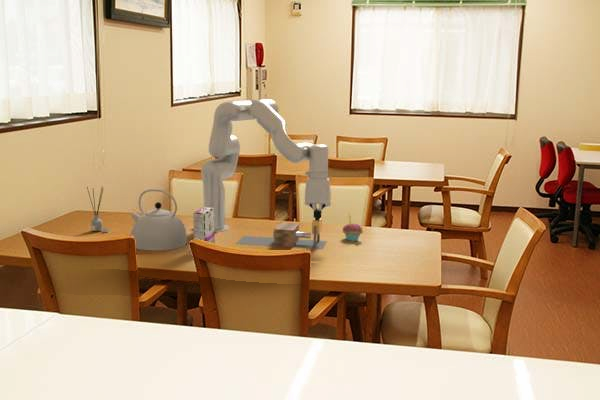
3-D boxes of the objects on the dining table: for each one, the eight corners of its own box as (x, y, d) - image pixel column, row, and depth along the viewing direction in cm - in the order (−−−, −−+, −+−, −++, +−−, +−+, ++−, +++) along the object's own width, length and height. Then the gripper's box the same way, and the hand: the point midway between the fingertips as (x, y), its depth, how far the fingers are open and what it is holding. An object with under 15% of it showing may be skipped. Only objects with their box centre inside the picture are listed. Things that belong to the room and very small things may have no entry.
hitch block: (274, 245, 266) (274, 224, 264) (280, 238, 277) (280, 217, 275) (315, 248, 263) (316, 226, 261) (319, 241, 274) (320, 220, 273)
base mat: (235, 245, 268) (235, 243, 268) (243, 237, 280) (243, 235, 280) (322, 250, 262) (322, 249, 262) (326, 242, 274) (327, 241, 274)
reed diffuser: (84, 231, 285) (82, 186, 281) (94, 227, 291) (92, 183, 287) (104, 233, 282) (103, 188, 278) (114, 230, 288) (112, 185, 284)
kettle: (114, 246, 263) (112, 191, 259) (146, 233, 284) (145, 182, 280) (167, 253, 255) (166, 196, 250) (197, 239, 275) (196, 187, 271)
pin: (273, 240, 269) (273, 229, 268) (275, 237, 273) (275, 226, 273) (309, 242, 267) (309, 231, 266) (311, 239, 271) (311, 228, 270)
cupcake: (348, 243, 273) (349, 215, 271) (338, 238, 281) (339, 211, 278) (366, 241, 277) (367, 214, 275) (355, 236, 285) (356, 210, 282)
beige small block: (311, 233, 264) (312, 221, 263) (314, 229, 272) (315, 217, 271) (319, 234, 263) (319, 222, 262) (321, 229, 271) (322, 217, 270)
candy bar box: (203, 246, 265) (202, 206, 262) (214, 247, 264) (214, 207, 261) (193, 253, 254) (192, 212, 251) (205, 254, 253) (205, 213, 250)
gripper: (298, 175, 261) (297, 220, 264) (335, 177, 258) (334, 222, 262) (301, 173, 268) (300, 216, 271) (337, 174, 265) (336, 218, 269)
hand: (317, 219), depth 266 cm, fingers closed
